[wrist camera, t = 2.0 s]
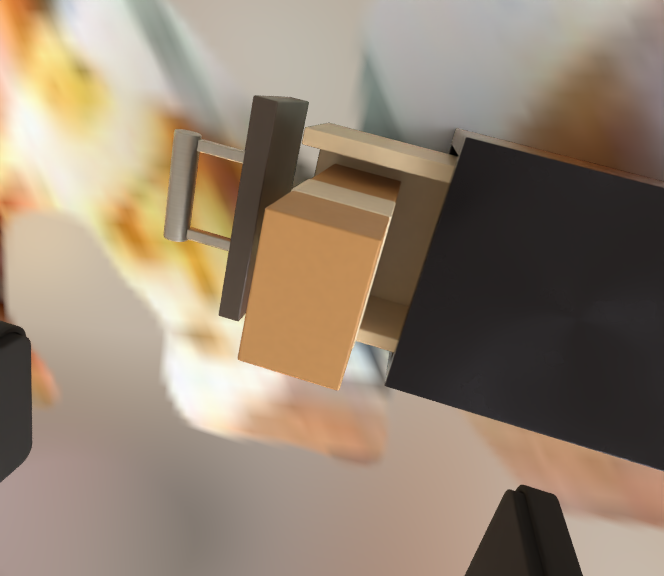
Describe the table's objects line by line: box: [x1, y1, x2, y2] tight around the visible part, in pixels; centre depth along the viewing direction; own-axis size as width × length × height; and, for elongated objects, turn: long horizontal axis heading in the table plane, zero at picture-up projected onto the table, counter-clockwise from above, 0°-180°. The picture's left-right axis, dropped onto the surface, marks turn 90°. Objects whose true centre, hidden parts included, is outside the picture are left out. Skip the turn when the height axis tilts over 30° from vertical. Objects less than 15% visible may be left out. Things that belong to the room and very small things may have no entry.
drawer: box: [164, 95, 458, 352], centre depth 27 cm, size 18×12×6 cm, turn 76°
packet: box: [238, 164, 402, 390], centre depth 23 cm, size 4×6×13 cm
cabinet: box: [385, 128, 664, 471], centre depth 26 cm, size 15×13×8 cm
